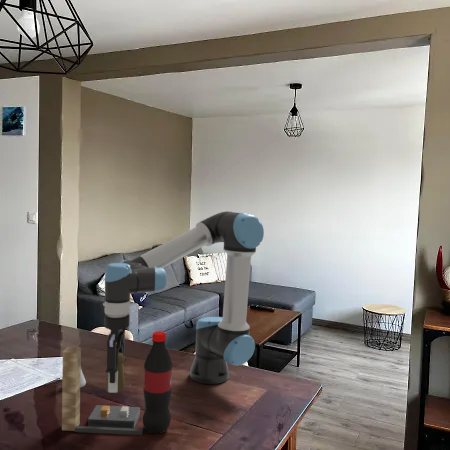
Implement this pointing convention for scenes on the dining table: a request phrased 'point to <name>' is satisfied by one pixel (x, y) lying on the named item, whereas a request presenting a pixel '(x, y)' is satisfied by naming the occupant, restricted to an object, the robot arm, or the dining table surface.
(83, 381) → the flask
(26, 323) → the dining table surface
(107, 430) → the thin curved gray strip
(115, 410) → the breaker panel
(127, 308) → the robot arm
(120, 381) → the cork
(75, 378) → the oak post
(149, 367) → the cola bottle
